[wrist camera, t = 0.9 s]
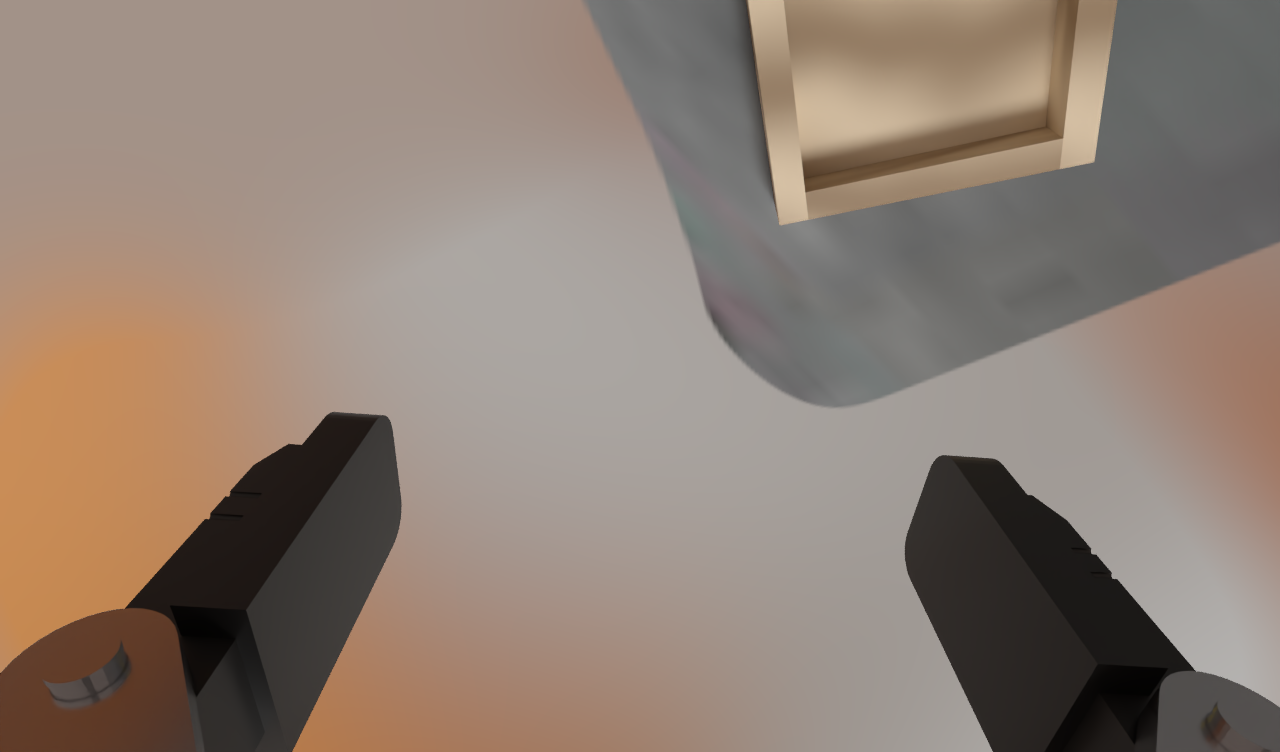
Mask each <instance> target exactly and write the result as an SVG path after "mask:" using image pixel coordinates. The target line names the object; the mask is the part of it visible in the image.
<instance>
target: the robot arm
mask: <svg viewBox="0 0 1280 752" xmlns="http://www.w3.org/2000/svg"><path fill="white" fill-rule="evenodd" d="M400 519H401V495H400V486H399V478H398V470H397V462H396V454H395V446H394V437H393V430H392V426H391V422H390V420H389V419H388V417H387V416H384V415H369V414H354V413H340V412H332V413H330V414H328V415H327V416H326V417H325V418H324V419H323V420H322V421H321V423H320V424H319V425H318V426H317V428H316V429H315V430H314V431H313V433H312V434H311V435H310V436H309V437H308V438H307V440H306V441H305V442H304V443H303V444H302V445H295V444H288V445H286V446H284V447H283V448H281V449H279V450H278V451H276V452H275V453H273V454H271V455H270V456H268V457H266V458H265V459H263V460H261V461H260V462H258V463H256V464H255V465H253V466H252V468H251V469H250V470H249V471H248V472H247V473H246V474H245V475H244V476H243V478H242V479H241V480H240V481H239V482H238V483H237V484H236V485H235V487H234V488H233V489H232V490H231V491H230V496H229V497H226V496H225V498H224V499H223V500H222V501H221V502H220V503H219V504H218V505H217V507H216V508H215V509H214V510H213V511H212V512H211V514H210V519H205V520H204V521H203V522H202V523H201V524H200V525H199V526H198V528H197V529H196V530H195V531H194V532H193V533H192V534H191V535H190V537H189V538H188V539H187V540H186V541H185V542H184V543H183V545H181V547H180V548H179V549H178V550H177V551H176V552H175V553H174V554H173V555H172V557H171V558H170V559H169V560H168V561H167V562H166V563H165V565H163V567H162V568H161V569H160V570H159V571H158V572H157V573H156V574H155V575H154V577H153V578H152V579H151V580H150V581H149V582H148V583H147V585H145V587H144V588H143V589H142V590H141V591H140V592H139V593H138V594H137V595H136V597H135V598H134V599H133V600H132V601H131V602H130V603H129V604H128V606H127V607H126V608H125V609H116V610H111V611H106V612H102V613H98V614H95V615H91V616H88V617H85V618H83V619H80V620H77V621H74V622H72V623H70V624H68V625H65V626H63V627H61V628H59V629H57V630H55V631H53V632H52V633H50V634H49V635H47V636H45V637H43V638H42V639H40V640H38V641H37V642H36V643H34V644H33V645H31V646H30V647H28V648H27V649H26V650H24V651H23V652H22V653H21V654H20V655H18V656H17V657H16V658H15V659H14V660H13V661H12V662H11V663H10V664H9V665H8V666H7V667H6V668H5V669H4V670H3V671H2V672H1V673H0V752H292V751H293V749H294V747H295V745H296V743H297V741H298V739H299V737H300V734H301V732H302V730H303V728H304V726H305V724H306V722H307V720H308V718H309V716H310V714H311V712H312V710H313V708H314V706H315V704H316V702H317V700H318V698H319V696H320V694H321V691H322V690H323V687H324V685H325V683H326V681H327V679H328V677H329V675H330V673H331V671H332V669H333V667H334V665H335V663H336V661H337V659H338V657H339V655H340V653H341V651H342V649H343V647H344V645H345V642H346V640H347V638H348V636H349V634H350V632H351V630H352V628H353V626H354V624H355V622H356V620H357V618H358V616H359V614H360V612H361V610H362V608H363V606H364V604H365V602H366V599H367V598H368V596H369V593H370V591H371V589H372V587H373V585H374V583H375V581H376V579H377V577H378V575H379V573H380V571H381V569H382V567H383V565H384V563H385V561H386V559H387V557H388V555H389V553H390V551H391V549H392V547H393V544H394V542H395V539H396V537H397V533H398V529H399V525H400ZM905 561H906V566H907V571H908V575H909V577H910V579H911V582H912V584H913V586H914V588H915V590H916V592H917V594H918V596H919V598H920V600H921V602H922V605H923V607H924V609H925V611H926V613H927V615H928V617H929V619H930V621H931V623H932V625H933V627H934V630H935V632H936V634H937V636H938V638H939V640H940V642H941V644H942V646H943V648H944V650H945V653H946V655H947V657H948V659H949V661H950V663H951V665H952V667H953V669H954V671H955V673H956V675H957V677H958V680H959V682H960V684H961V686H962V688H963V690H964V692H965V694H966V696H967V698H968V701H969V703H970V705H971V706H972V708H973V711H974V713H975V715H976V717H977V719H978V721H979V723H980V725H981V728H982V730H983V732H984V734H985V736H986V738H987V740H988V742H989V744H990V746H991V748H992V751H993V752H1280V707H1278V706H1277V705H1275V704H1274V703H1273V702H1271V701H1269V700H1268V699H1266V698H1264V697H1263V696H1261V695H1259V694H1258V693H1256V692H1254V691H1252V690H1250V689H1248V688H1246V687H1244V686H1242V685H1240V684H1238V683H1235V682H1233V681H1230V680H1228V679H1225V678H1222V677H1219V676H1216V675H1212V674H1207V673H1203V672H1196V671H1195V670H1194V669H1193V667H1192V666H1191V665H1190V664H1189V663H1188V662H1187V660H1186V659H1185V658H1184V657H1183V656H1182V655H1181V653H1180V652H1179V651H1178V650H1177V649H1176V648H1175V646H1174V645H1173V644H1172V643H1171V642H1170V640H1169V639H1168V638H1167V637H1166V636H1165V635H1164V633H1163V632H1162V631H1161V630H1160V629H1159V628H1158V627H1157V625H1156V624H1155V623H1154V622H1153V621H1152V620H1151V618H1150V617H1149V616H1148V615H1147V614H1146V612H1145V611H1144V610H1143V609H1142V608H1141V607H1140V605H1139V604H1138V603H1137V602H1136V601H1135V600H1134V598H1133V597H1132V596H1131V595H1130V594H1129V593H1128V591H1127V590H1126V589H1125V588H1124V587H1123V586H1122V584H1121V583H1120V582H1119V581H1118V580H1117V579H1112V577H1111V574H1112V573H1111V571H1110V570H1109V569H1108V568H1107V567H1106V566H1105V565H1104V564H1103V562H1102V561H1101V560H1100V559H1099V557H1098V556H1097V555H1093V554H1091V548H1090V547H1089V546H1088V545H1087V543H1086V542H1085V541H1084V540H1083V539H1082V538H1081V536H1080V535H1079V534H1078V533H1077V532H1076V531H1075V529H1074V528H1073V527H1072V526H1071V525H1070V523H1069V522H1068V521H1067V520H1066V519H1064V518H1063V517H1061V516H1060V515H1059V514H1057V513H1056V512H1054V511H1053V510H1052V509H1050V508H1049V507H1047V506H1046V505H1045V504H1043V503H1042V502H1040V501H1039V500H1038V499H1036V498H1035V497H1034V496H1032V495H1027V494H1026V493H1025V491H1024V490H1023V489H1022V488H1021V487H1020V485H1019V484H1018V483H1017V482H1016V480H1015V479H1014V478H1013V477H1012V476H1011V474H1010V473H1009V472H1008V471H1007V469H1006V468H1005V467H1004V466H1003V465H1002V464H1001V463H1000V462H999V461H997V460H995V459H989V458H976V457H961V456H947V455H942V456H939V457H938V458H937V459H936V460H935V461H934V462H933V464H932V466H931V468H930V471H929V473H928V476H927V479H926V482H925V485H924V488H923V491H922V493H921V496H920V499H919V502H918V505H917V507H916V510H915V513H914V516H913V519H912V522H911V524H910V527H909V530H908V533H907V537H906V542H905Z"/></svg>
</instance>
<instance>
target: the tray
mask: <svg viewBox="0 0 1280 752" xmlns="http://www.w3.org/2000/svg"><path fill="white" fill-rule="evenodd" d="M746 4H747V11H748V18H749V25H750V33H751V40H752V47H753V54H754V61H755V68H756V75H757V82H758V89H759V96H760V103H761V110H762V117H763V124H764V131H765V138H766V145H767V152H768V159H769V166H770V174H771V181H772V188H773V195H774V202H775V207H776V212H777V216H778V220H779V225H784V224H789V223H794V222H799V221H804V220H809V219H814V218H819V217H824V216H829V215H834V214H839V213H844V212H849V211H854V210H859V209H864V208H869V207H874V206H879V205H883V204H888V203H893V202H898V201H903V200H908V199H913V198H918V197H923V196H928V195H933V194H938V193H943V192H948V191H953V190H958V189H963V188H968V187H973V186H978V185H983V184H988V183H993V182H998V181H1003V180H1008V179H1013V178H1018V177H1023V176H1028V175H1033V174H1038V173H1043V172H1048V171H1053V170H1058V169H1063V168H1068V167H1073V166H1078V165H1082V164H1087V163H1092V162H1094V160H1095V153H1096V146H1097V139H1098V132H1099V125H1100V118H1101V111H1102V104H1103V97H1104V90H1105V83H1106V76H1107V69H1108V62H1109V55H1110V48H1111V41H1112V34H1113V27H1114V20H1115V13H1116V6H1117V0H746Z"/></svg>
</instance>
